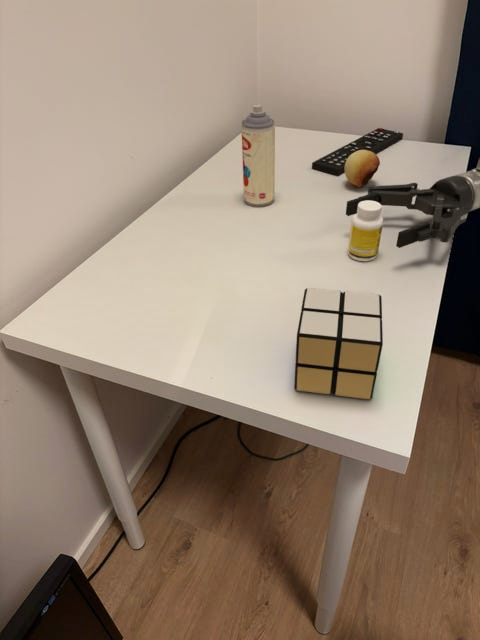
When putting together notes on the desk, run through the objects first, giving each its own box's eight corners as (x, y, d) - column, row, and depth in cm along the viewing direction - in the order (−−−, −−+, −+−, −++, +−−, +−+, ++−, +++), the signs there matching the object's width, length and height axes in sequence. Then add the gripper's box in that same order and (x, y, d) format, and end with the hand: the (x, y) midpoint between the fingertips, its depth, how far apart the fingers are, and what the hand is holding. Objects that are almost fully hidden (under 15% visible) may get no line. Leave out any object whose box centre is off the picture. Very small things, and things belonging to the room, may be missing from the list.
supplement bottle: (380, 261, 87) (389, 212, 81) (350, 262, 87) (356, 213, 81) (374, 246, 91) (382, 197, 85) (345, 247, 91) (350, 198, 85)
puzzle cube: (301, 341, 71) (305, 286, 65) (371, 349, 70) (381, 292, 63) (293, 391, 64) (296, 334, 57) (371, 401, 62) (383, 343, 56)
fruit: (376, 179, 114) (381, 145, 109) (376, 194, 108) (381, 159, 103) (343, 177, 116) (347, 143, 111) (341, 192, 109) (345, 157, 104)
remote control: (402, 138, 134) (404, 131, 133) (337, 176, 116) (338, 168, 115) (378, 133, 138) (379, 126, 137) (311, 168, 120) (312, 160, 119)
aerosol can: (241, 195, 110) (237, 102, 97) (270, 192, 111) (270, 99, 98) (247, 208, 105) (243, 112, 92) (277, 205, 106) (278, 109, 93)
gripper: (414, 155, 99) (330, 179, 92) (521, 200, 82) (428, 234, 75) (407, 189, 104) (327, 215, 97) (507, 239, 87) (419, 274, 80)
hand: (371, 223), depth 86 cm, fingers open, 13 cm apart
